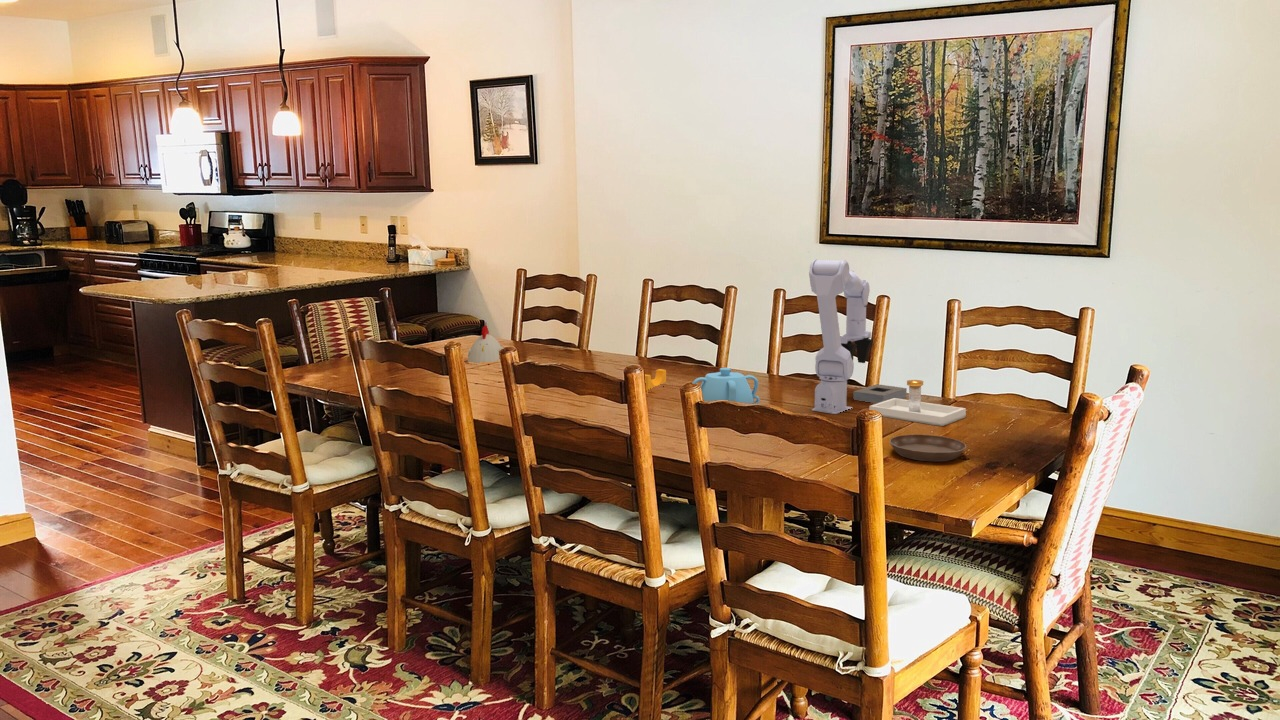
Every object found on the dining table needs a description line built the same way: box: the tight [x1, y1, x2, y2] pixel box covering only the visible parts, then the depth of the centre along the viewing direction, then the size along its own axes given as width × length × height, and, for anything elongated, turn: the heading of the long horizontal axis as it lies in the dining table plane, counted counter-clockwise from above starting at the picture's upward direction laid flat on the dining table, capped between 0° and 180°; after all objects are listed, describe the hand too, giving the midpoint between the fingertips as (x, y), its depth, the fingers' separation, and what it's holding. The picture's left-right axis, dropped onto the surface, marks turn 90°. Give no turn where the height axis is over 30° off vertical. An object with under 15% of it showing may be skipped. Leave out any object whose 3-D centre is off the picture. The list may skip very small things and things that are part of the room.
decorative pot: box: [691, 367, 761, 404], centre depth 282 cm, size 16×16×14 cm
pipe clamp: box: [644, 368, 667, 394], centre depth 317 cm, size 12×4×6 cm, turn 150°
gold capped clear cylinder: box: [906, 379, 924, 413], centre depth 279 cm, size 4×4×9 cm
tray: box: [868, 398, 967, 427], centre depth 279 cm, size 14×22×2 cm, turn 47°
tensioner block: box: [852, 384, 908, 404], centre depth 301 cm, size 14×10×3 cm
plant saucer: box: [889, 434, 967, 463], centre depth 239 cm, size 18×18×3 cm
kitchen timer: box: [467, 325, 504, 363], centre depth 367 cm, size 14×14×15 cm
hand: (855, 364), depth 302 cm, fingers open, 7 cm apart
